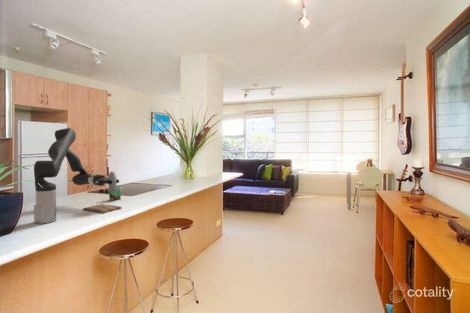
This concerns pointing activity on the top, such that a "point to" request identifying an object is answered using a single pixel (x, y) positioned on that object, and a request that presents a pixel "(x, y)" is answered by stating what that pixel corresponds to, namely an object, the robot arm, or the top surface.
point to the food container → (116, 194)
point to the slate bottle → (112, 186)
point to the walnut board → (102, 208)
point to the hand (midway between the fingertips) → (115, 181)
